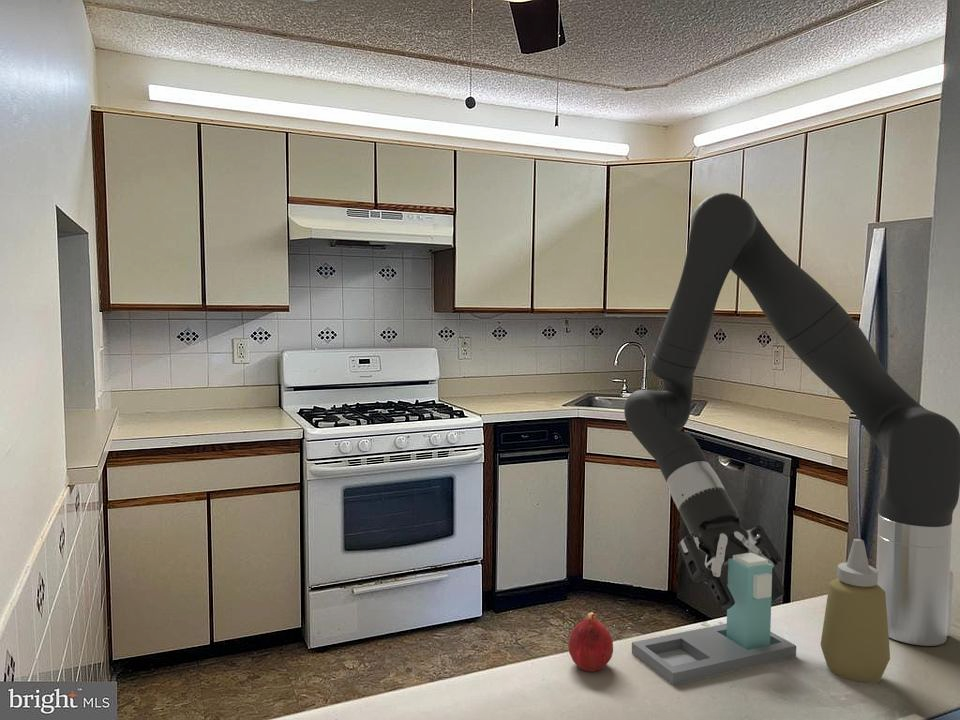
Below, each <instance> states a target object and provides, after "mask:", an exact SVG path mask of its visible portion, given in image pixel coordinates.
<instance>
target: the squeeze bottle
mask: <svg viewBox="0 0 960 720" xmlns="http://www.w3.org/2000/svg"><path fill="white" fill-rule="evenodd" d="M836 577H837V578H835V579H833V580H831V581H829V584H828V590H827V598H826V605H825V611H824V619H823V625H822V626H823V627H822V631H821V639H820V647H821V651H822V655H823V656H824V657H823V658H824V660H825V664H826V666H827V667H828V668H827V669H829V670H830V671H831V672H833V673H834V674H836V675H838V676H840V677H842V678H845V679H847V680H851V681H856V682H865V683H866V682H867V683H871V682H874V683H875V684H879V683H881V680H882V677H883V675H884V673H885V672H886V668H887V666H888V664H889V663H890V660H891V651H890V649H891V648H890V638H889V634H888V620H887V607H886V594H885V591H884V590H883V589H882V588H881V587H880V586H879V585H878V584H877V583H878V571H877V570H876V568H875V567H873V566H872V565H869V559H868V556H867V551H866V544H865V541H864V540H863V539H860V538H854V539H853V541H852V544H851V547H850V551H849V554H848V557H847V561H846V562H840V563H838V565H837V574H836Z"/></svg>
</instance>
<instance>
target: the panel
mask: <svg viewBox="0 0 960 720" xmlns="http://www.w3.org/2000/svg"><path fill="white" fill-rule="evenodd" d="M726 632H727V622H725V623H722V624H717V625H713V626H712V625H711V626H708V627H707V626H706V627H702V628H697V629H693V630H692V629H691V630H686V631H683V632H682V631H681V632H677V633H672V634H666V635H662V636H656V637H650V638H647V639H643V640H642V639H641V640H637V641H632V642H631V654H632V655H633V656H634V657H635V658H637V659H638V660H639V661H641V662H642V663H643V664H644V665H645V666H647V667H649V668H650V669H651V670H653V671H654V672H655V673H656V674H658V675H659V676H660V677H662V678H663V679H664V680H666V682H668V683H669V684H670V685H672V686H676V685H677V686H678V685H681V684H684V683H691V682H693V681H694V682H695V681H698V680H703V679H706V678H711V677H715V676H720V675H723V674H728V673H732V672H737V671H742V670H746V669H750V668H753V667H758V666H762V665H768V664H770V663H771V664H772V663H776V662H780V661H785V660H788V659H792V658H797V645H796V644H794V643H793V642H790V641H789V640H786V639H785V638H783V637H782V636H780V635H778V634H776V633H774V632H772V631H771V630H770V645H767V646H763V647H758V648H753V649H749V650H747V649H745V648H743V647H742V646H740V645H738V644H737V643H735V642H734V641H732V640H730V639H729V638H727V637H726Z"/></svg>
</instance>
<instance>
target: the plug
mask: <svg viewBox="0 0 960 720" xmlns="http://www.w3.org/2000/svg"><path fill="white" fill-rule="evenodd" d="M727 586H728V588H729V590H730V592H731V594H732V596H733V598H734V600H735V604H734V605H733V606H732V607H731V608H729V609H726V623H727V632H726V637H727V638H729V639H730V640H732V641H734V642H735V643H737V644H738V645H740V646H742V647H743V648H745V649H747V650H749V649H753V648H758V647H763V646H767V645H770V631H771V622H772V618H771V617H772V599H771V594H772V564H769V563H768V560H767V559H765V558H763V557H760V556H758V555H756V554H753V553H750V552H747V553H745V554H738V555H733V558H731V559H728V564H727Z"/></svg>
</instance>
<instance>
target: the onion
mask: <svg viewBox="0 0 960 720" xmlns="http://www.w3.org/2000/svg"><path fill="white" fill-rule="evenodd" d="M569 634H570V635H569V637H568V638H569V639H568V652H569V655H570V658H571V659H572V661H573V663H574V664H575V665H576V666H577V667H578V668H580V669H581V670H583V671H584V672H585V671H586V672H592V673H593V672H598V671H600V670H601V669H603V668H604V667H605V666H606V665H607V664H608V663H609V662H610V660H611V659H612V657H613V653H614V644H613V643H614V641H613V638H612V635H611V632H610V631H609V630H608V628H607V627H606V626H605V625H604V624H603V623H602V622H601V621H599V620H598V619H597V614H595V613H594V612H592V611H591V612H589V613H587V616H586V617H585V619H584V620H582V621H580V622H578V623H577V624H576V625H575V626H574V627H573V628H572V630H571V632H570V633H569Z"/></svg>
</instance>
